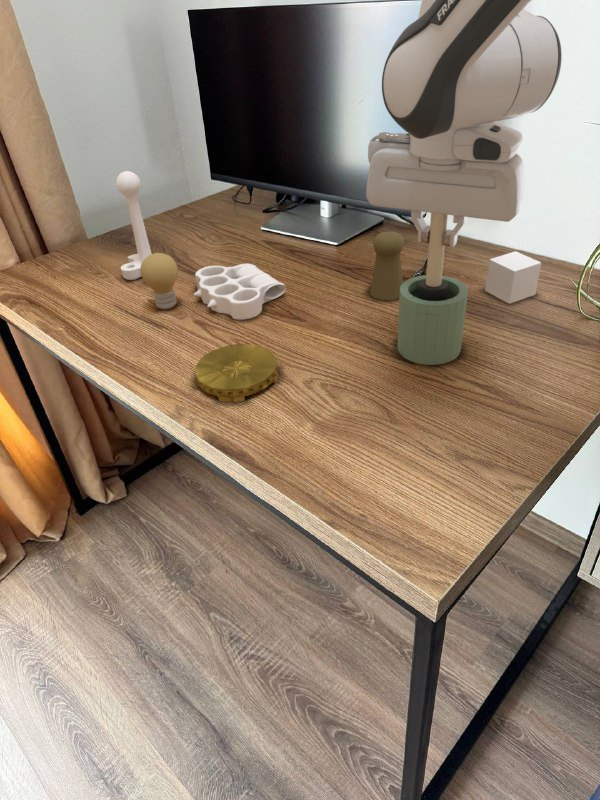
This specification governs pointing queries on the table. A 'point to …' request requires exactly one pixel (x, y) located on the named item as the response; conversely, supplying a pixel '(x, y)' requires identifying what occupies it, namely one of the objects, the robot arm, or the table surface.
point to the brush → (435, 262)
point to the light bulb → (160, 278)
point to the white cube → (512, 277)
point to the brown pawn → (387, 266)
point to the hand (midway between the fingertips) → (437, 243)
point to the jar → (431, 323)
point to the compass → (236, 371)
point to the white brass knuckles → (237, 289)
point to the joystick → (134, 224)
